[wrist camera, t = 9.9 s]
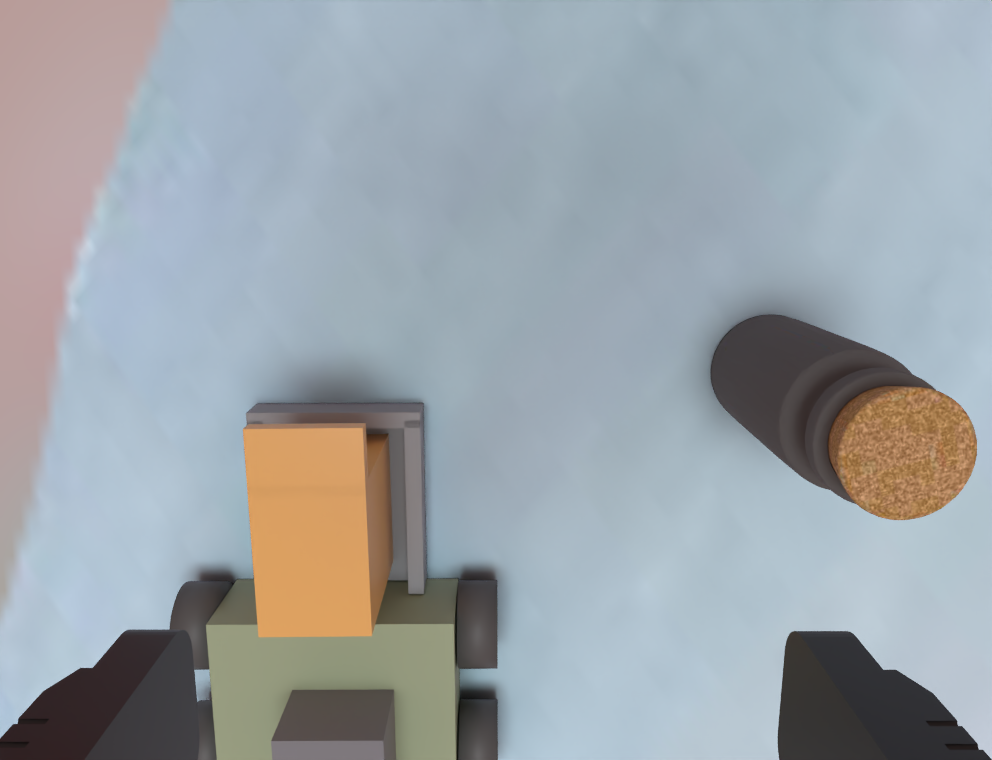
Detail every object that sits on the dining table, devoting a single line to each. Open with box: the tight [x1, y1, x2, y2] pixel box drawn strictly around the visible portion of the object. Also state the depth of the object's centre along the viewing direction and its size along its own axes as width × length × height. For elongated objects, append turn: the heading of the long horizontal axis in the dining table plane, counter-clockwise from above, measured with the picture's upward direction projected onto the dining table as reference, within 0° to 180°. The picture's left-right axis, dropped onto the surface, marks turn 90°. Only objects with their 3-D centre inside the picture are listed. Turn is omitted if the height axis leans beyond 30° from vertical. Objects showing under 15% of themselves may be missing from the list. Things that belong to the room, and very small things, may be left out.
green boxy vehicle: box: [170, 403, 498, 760], centre depth 41 cm, size 20×16×9 cm
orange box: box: [243, 423, 393, 637], centre depth 39 cm, size 10×5×8 cm, turn 1°
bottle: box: [711, 315, 977, 520], centre depth 35 cm, size 6×6×15 cm
